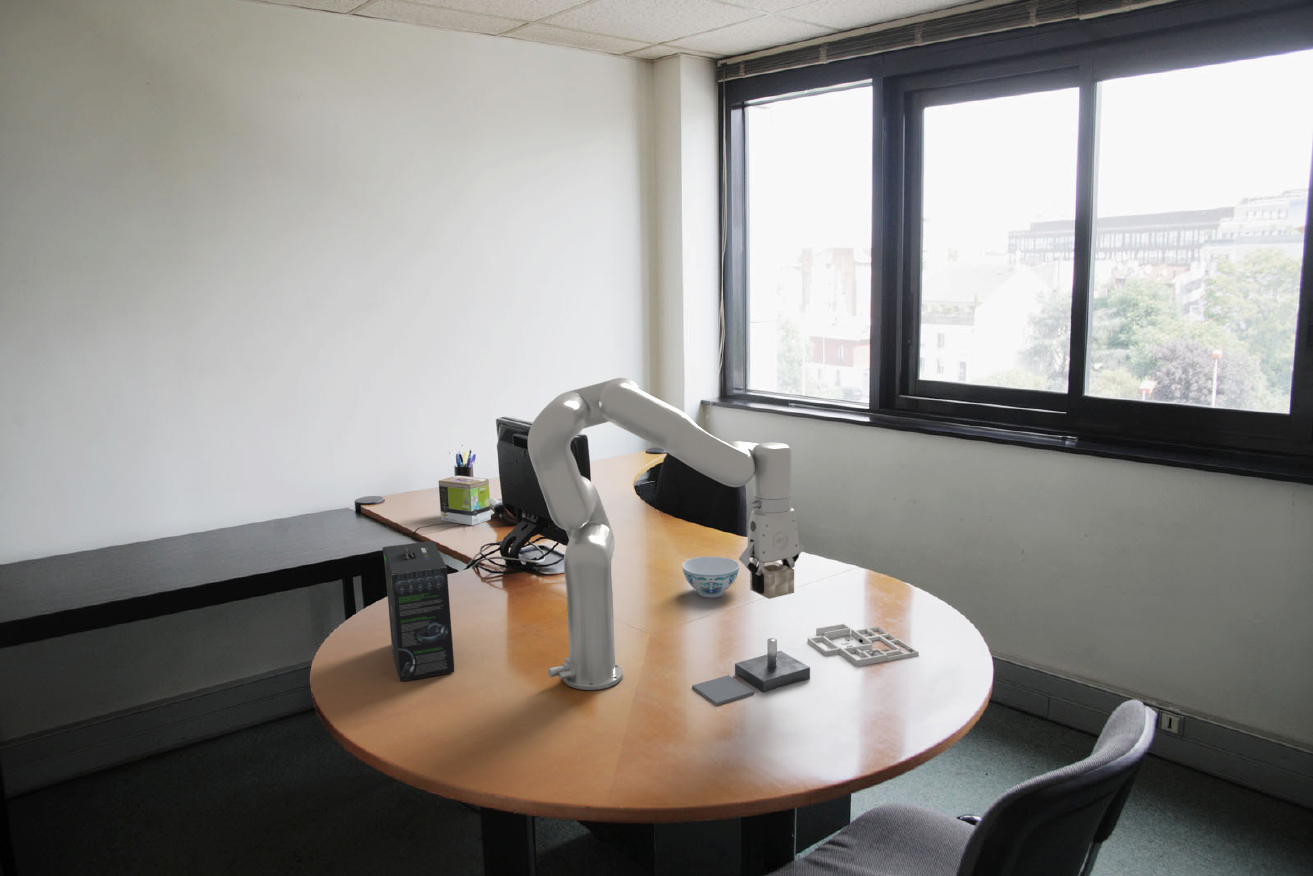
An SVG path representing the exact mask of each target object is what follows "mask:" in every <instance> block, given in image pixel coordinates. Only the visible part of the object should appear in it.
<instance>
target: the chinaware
mask: <svg viewBox="0 0 1313 876" xmlns="http://www.w3.org/2000/svg"><path fill="white" fill-rule="evenodd" d="M681 566H682V567H681V568H682V573H683V574H684V575H683V576H684V578H685V579H686V581H687V583H688V584H689V585H690V586H691V587H692V588H693V589H694V590H696V591H697V593H698V595H699V596H700V597H701V596H702V597H705V598H718V597H721V596H723V595H724V593H725V591H726V590H728V589H729V588H731V586H732V585H733V584H734V582H735V580H736V579H737V576H738V574H739V571H740V563H739V562H738V561H737V560H735V559H732V558H728V557H723V556H715V555H714V556H708V555H707V556H698V557H694V558H690V559H687V560H686V561H684V562H683V563H682V564H681Z"/></svg>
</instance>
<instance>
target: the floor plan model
mask: <svg viewBox="0 0 1313 876" xmlns="http://www.w3.org/2000/svg"><path fill="white" fill-rule="evenodd" d="M877 631H878V632H879V631H880V632H879V633H881V632H882V633H883V634H882V633H881V634H877V633H876V632H877ZM864 633H865V634H866V635H865V636H864V635H863V634H864ZM815 635H816V636H812V637H810V636H809V637H807V643H808V644H809V645H811V646H812V647H813V648H814V649H816V650H817V651H819V652H820V653H821V654H823V655H824V656H825V657H826V656H831V655H832V656H833V655H837V654H839V655H840V656H842V657H843V658H845V659H846V660H848V661H849V662H850V663H851V664H853V665H854V666H856V667H861V666H865V665H866V666H867V665H872V664H876V663H882V662H886V661H887V662H890V661H894V660H901V659H906V658H910V657H916V656H915V655H917V656H919V653H920V652H919V650H916V649H915V648H913V647H912V646H910V645H908V643H906V642H904V641H902V640H901V639H900V638H896V637H895V636H894V635H892V634H890V633H888V632H887V631H885V630H883V629H882V628H880V627H878V626H874V627H870V628H864V629H859V630H855V629H854V628H851V627H850V626H849V625H848V624H845V623H839V624H834V625H827V626H822V627H821V626H820V627H816V628H815ZM823 635H824V636H823ZM850 635H851V636H852V637H854V638H855V639H857V640H858V641H859V643H860V645H854V646H853V645H852V644H851V645H847V644H850V642H849V641H851V640H852V641H853V640H854V639H853V638H852V637H851V636H850ZM868 635H869V636H868ZM846 636H849V637H846ZM839 637H844V639H845V641H846V642H845V641H844V642H841V643H840V644H841V645H846V647H842V646H838V645H837V644H835V643H834V642H833V641H832V640H831V639H834V638H839ZM886 637H889V639H890V640H888V638H886ZM873 641H880V642H882V641H883V642H882V643H884V644H886V645H887V646H889V647H890V648H891V649H892V650H890V649H889V648H883V650H881V649H880V648H873ZM818 642H823V643H825V644H826V645H827V646H829V647H830V648H831V649H827V650H826V649H825V648H824V647H822V646H821V645H820V644H818ZM861 643H862V644H861ZM897 643H898V644H897ZM898 645H899V646H898ZM901 647H902V648H903V647H904V649H906V651H907V653H906V652H904V651H903V650H902V649H901ZM905 647H906V648H905ZM855 653H856V654H857V655H859V656H860V657H861V658H857V657H856V656H854V655H853V654H855ZM889 655H890V656H889Z"/></svg>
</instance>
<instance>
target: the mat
mask: <svg viewBox="0 0 1313 876" xmlns="http://www.w3.org/2000/svg"><path fill="white" fill-rule="evenodd" d="M691 688H692V690H694V691H696V692H697V693H699V694H700V695H701V696H702V697H704V698H706V699H707V700H708V701H709V702H711V703H712V704H714V705H715V706H720V705H724V704H727V703H730V702H733V701H736V700H739V699H742V698H747V697H750V696H752V695H754V694H755V691H754V690H753V689H751V688H749V687H748V686H746V685H745V684H743V683H742V682H740V681H738V680H737V679H736V678H734V677H732V676H731V675H729V674H727V675H724V676H720V677H717V678H713V679H709V680H707V681H703V682H699V683H696V684H693V685H691Z"/></svg>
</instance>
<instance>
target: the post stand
mask: <svg viewBox="0 0 1313 876" xmlns="http://www.w3.org/2000/svg"><path fill="white" fill-rule="evenodd" d="M766 641H767V645H766V647H767V653H766V654H764V655H760V656H757V657H753V658H750V659H746V660H743V661H738V662H736V663H734V675H735V676H737V678H740V679H741V680H742V681H744V682H745V683H748V684H749V685H750V686H752V687H754V688H755V689H756V690H759V691H760V692H762V693H764V694H765V693H767V692H771V691H773V690H777V689H779V688H780V689H781V688H783V687H786V686H787V687H788V686H791V685H794V684H797V683H800V682H804V681H806V680H811V666H809V665H806V664H805V663H803V662H801V661H799V660H798V659H796V658H794V657H793V656H791V655H789V654H787V653H785V652H783V651H782V650H779V651H778V639H777V638H774V637H773V638H771V637H769V638H767V640H766Z"/></svg>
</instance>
